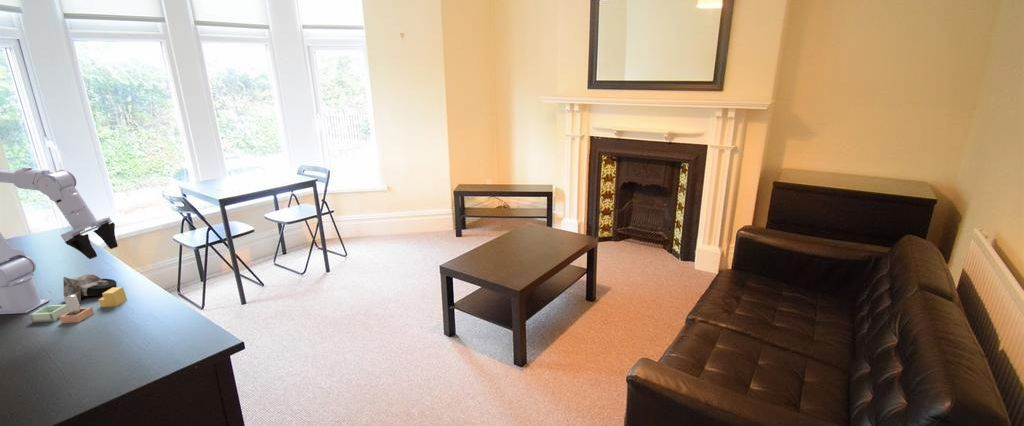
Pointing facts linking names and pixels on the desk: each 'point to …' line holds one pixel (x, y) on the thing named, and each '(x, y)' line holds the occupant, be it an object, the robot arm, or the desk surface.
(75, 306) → the stop pin
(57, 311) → the tray
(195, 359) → the desk surface
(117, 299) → the chock
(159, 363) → the desk surface
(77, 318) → the socket block
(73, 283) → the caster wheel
